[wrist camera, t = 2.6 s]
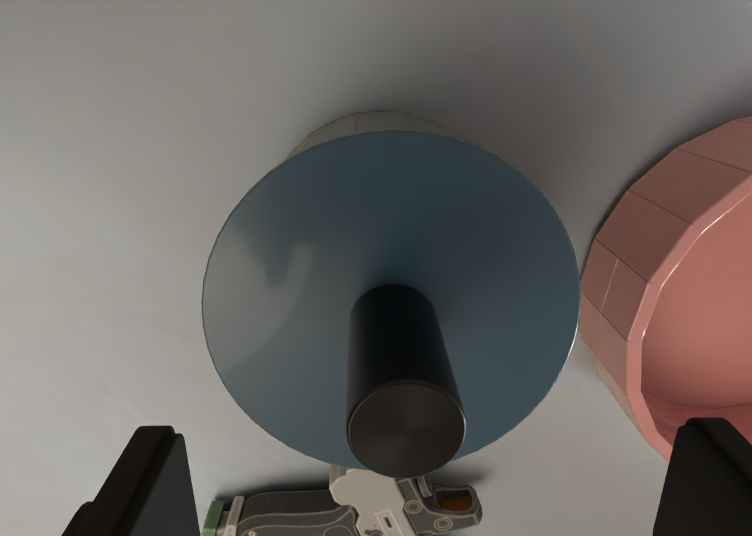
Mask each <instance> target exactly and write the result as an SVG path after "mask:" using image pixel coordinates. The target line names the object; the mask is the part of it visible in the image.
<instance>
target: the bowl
mask: <svg viewBox="0 0 752 536" xmlns="http://www.w3.org/2000/svg"><path fill="white" fill-rule="evenodd" d="M580 292H581V300H580V334H581V338H582V340H583V343H584V345H585V347H586V350H587V352H588V354H589V357H590V359H591V361H592V364H593V366H594V368H595V371H596V373H597V375H598V376H599V377H600V379H601V380H602V381H603V383H604V384H605V386H606V387H607V388H608V390H609V391H610V392H611V394H612V395H613V397H614V398H615V399H616V401H617V402H618V403H619V405H620V406H621V408H622V409H623V410H624V412H625V413H626V415H627V416H628V417H629V419H630V420H631V421H632V423H633V424H634V426H635V427H636V428H637V430H638V431H639V432H640V434H641V435H642V437H643V438H644V439H645V440H646V441H647V442H648V443H649V444H650V445H651V446H652V447H653V448H654V449H655V450H656V451H657V452H658V453H659V454H660V455H661V456H662V457H663V458H664V459H665V460H666V461H667V462H668V463H669V461H670V457H671V453H672V449H673V445H674V441H675V436H676V432H677V430H678V428H679V427H680V426H683V425H685V423H686V421H687V420H688V419H689V418H692V417H722V418H725V419H726V420H728V421H729V422H730V423H731V424H732V425H733V426H734V427H735V428H736V429H737V430H738V431H739V432H740V433H741V434H742V435H743V436H744V437H745V438H746V439H747V441H748V442H749V443H750V444H751V445H752V116H750V117H744V118H739V119H734V120H731V121H729V122H727V123H725V124H723V125H721V126H719V127H717V128H715V129H713V130H711V131H709V132H706V133H704V134H702V135H700V136H698V137H696V138H694V139H692V140H690V141H688V142H686V143H684V144H682V145H680V146H678V147H676V149H673V150H672V151H671V152H670V153H669V154H668V155H666V156H665V157H664V158H663V159H662V160H661V161H659V162H658V163H657V164H656V165H655V166H654V167H653V168H651V169H650V170H649V171H648V172H647V173H646V174H644V175H643V176H642V177H641V178H640V179H639V180H637V181H636V182H635V183H634V184H633V185H632V186H631V187H629V190H627V191H626V192H625V193H624V195H623V196H622V198H621V199H620V201H619V202H618V204H617V205H616V207H615V208H614V210H613V211H612V213H611V214H610V216H609V217H608V219H607V220H606V222H605V223H604V224H603V226H602V227H601V229H600V230H599V232H598V233H597V235H596V237H595V238H594V240H593V243H592V247H591V250H590V253H589V256H588V259H587V263H586V266H585V269H584V272H583V275H582V278H581V282H580Z"/></svg>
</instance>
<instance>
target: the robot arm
mask: <svg viewBox="0 0 752 536" xmlns="http://www.w3.org/2000/svg"><path fill="white" fill-rule="evenodd" d="M62 536H200V530H199V524H198V518H197V512H196V506H195V500H194V494H193V488H192V482H191V476H190V470H189V464H188V458H187V452H186V446H185V440H184V436H183V435H182V434H181V433H178V434H175V432H174V429H173V427H172V426H140V427H138V428H137V430H136V431H135V433H134V434H133V436H132V438H131V439H130V441H129V443H128V444H127V446H126V448H125V449H124V451H123V453H122V454H121V456H120V458H119V459H118V461H117V463H116V464H115V466H114V468H113V469H112V471H111V473H110V474H109V476H108V478H107V479H106V481H105V483H104V484H103V486H102V488H101V489H100V491H99V493H98V494H97V496H96V498H95V499H94V501H93V502H86V503H85V504H83V505H82V506H81V507H80V508H79V509H78V511H77V512H76V513H75V515H74V517H73V518H72V520H71V521H70V523H69V525H68V526H67V528H66V529H65V531H64V533H63V534H62ZM653 536H752V445H751V444H750V443H749V442H748V441H747V439H746V438H745V437H744V436H743V435H742V434H741V433H740V432H739V431H738V430H737V429H736V428H735V427H734V426H733V425H732V424H731V423H730V422H729V421H728V420H726V419H725V418H722V417H692V418H689V419H688V420H687V421H686V423H685V425H683V426H680V427H679V428H678V430H677V432H676V436H675V441H674V445H673V449H672V453H671V457H670V461H669V466H668V470H667V474H666V478H665V482H664V487H663V491H662V495H661V499H660V503H659V508H658V512H657V516H656V520H655V524H654V529H653Z"/></svg>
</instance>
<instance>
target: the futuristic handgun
mask: <svg viewBox="0 0 752 536" xmlns="http://www.w3.org/2000/svg"><path fill="white" fill-rule="evenodd" d="M223 507H224V501H212V502H211V505H210V508H209V511H208V514H207V517H206V520H205V523H204V526H203V529H202V533H201V536H432V535H433V534H437V535H442V534H446V533H450V532H453V531H457V530H461V529H465V528H468V527H472V526H475V525H478V524H479V523H480V521H481V519H482V507H481V504H480V501H479V498H478V496H477V493H476V491H475V490H474V489H473V488H472V487H471V486H469V485H465V486H455V487H447V486H440V485H435V484H431V482H430V478H429V475H425V476H421V477H416V478H408V479H398V478H390V477H386V476H383V475H380V474H377V473H375V472H373V471H369V470H361V469H353V468H347V467H343V466H339V465H334V464H331V471H330V481H329V489H328V490H312V491H280V492H268V493H261V494H257V495H254V496H251V497H249V498H248V499H246V500H245V501H244V497H243V496H236V497H235V498H234V501H233V503H232V506H231V509H230V511H224V512H223Z"/></svg>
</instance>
